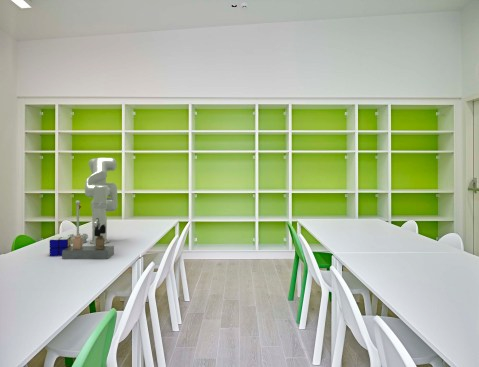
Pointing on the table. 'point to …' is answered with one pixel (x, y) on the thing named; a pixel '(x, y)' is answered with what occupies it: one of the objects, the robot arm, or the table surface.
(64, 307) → the table surface
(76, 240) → the terracotta plug
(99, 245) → the walnut plug
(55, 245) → the puzzle cube
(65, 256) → the block
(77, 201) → the flag stand
